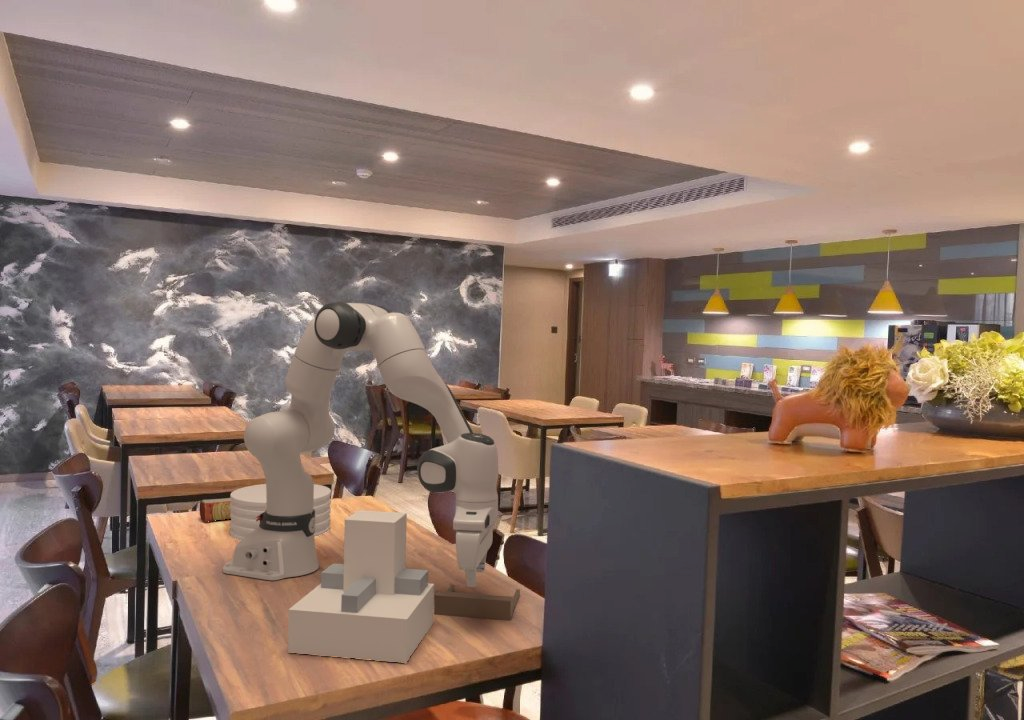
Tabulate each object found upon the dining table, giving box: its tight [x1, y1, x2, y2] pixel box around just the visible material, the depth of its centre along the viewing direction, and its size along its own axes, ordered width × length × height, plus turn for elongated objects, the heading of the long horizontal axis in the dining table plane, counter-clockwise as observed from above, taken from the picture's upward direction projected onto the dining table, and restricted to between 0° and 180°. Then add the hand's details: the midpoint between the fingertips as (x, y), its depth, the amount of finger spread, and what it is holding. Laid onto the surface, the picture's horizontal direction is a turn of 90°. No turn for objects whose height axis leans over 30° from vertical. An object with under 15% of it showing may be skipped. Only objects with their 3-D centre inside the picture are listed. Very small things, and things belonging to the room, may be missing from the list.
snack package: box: [199, 497, 231, 523], centre depth 228 cm, size 21×7×7 cm, turn 125°
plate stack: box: [229, 483, 332, 541], centre depth 215 cm, size 28×28×12 cm
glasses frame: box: [433, 584, 521, 621], centre depth 159 cm, size 16×15×4 cm
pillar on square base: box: [287, 509, 435, 663], centre depth 139 cm, size 22×19×22 cm
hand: (476, 578), depth 152 cm, fingers open, 8 cm apart
